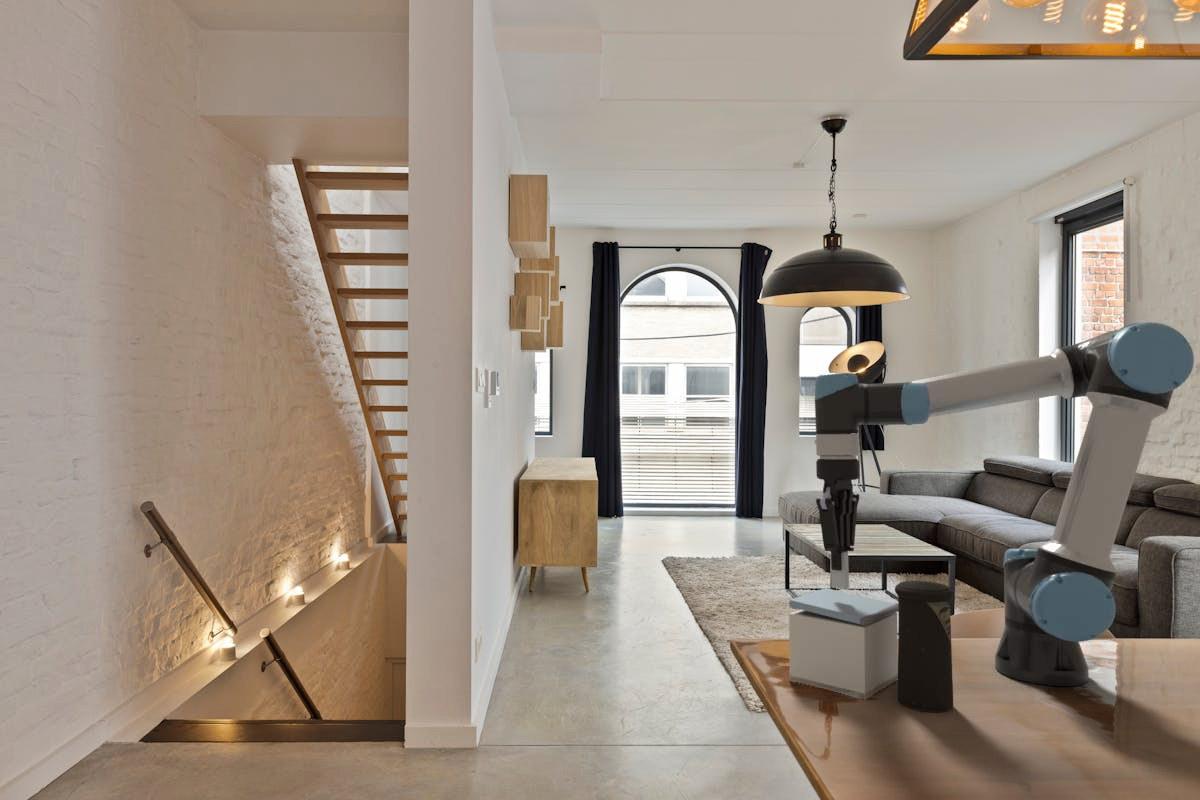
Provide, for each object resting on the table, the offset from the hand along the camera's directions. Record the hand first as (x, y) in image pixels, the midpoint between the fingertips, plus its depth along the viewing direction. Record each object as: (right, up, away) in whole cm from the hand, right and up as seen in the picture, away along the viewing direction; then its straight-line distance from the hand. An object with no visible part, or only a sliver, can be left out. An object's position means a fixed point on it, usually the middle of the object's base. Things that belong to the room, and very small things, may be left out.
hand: (840, 587), depth 141 cm
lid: (+1, -4, -1) cm, 4 cm away
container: (+10, -16, -13) cm, 23 cm away
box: (0, -17, -1) cm, 17 cm away
